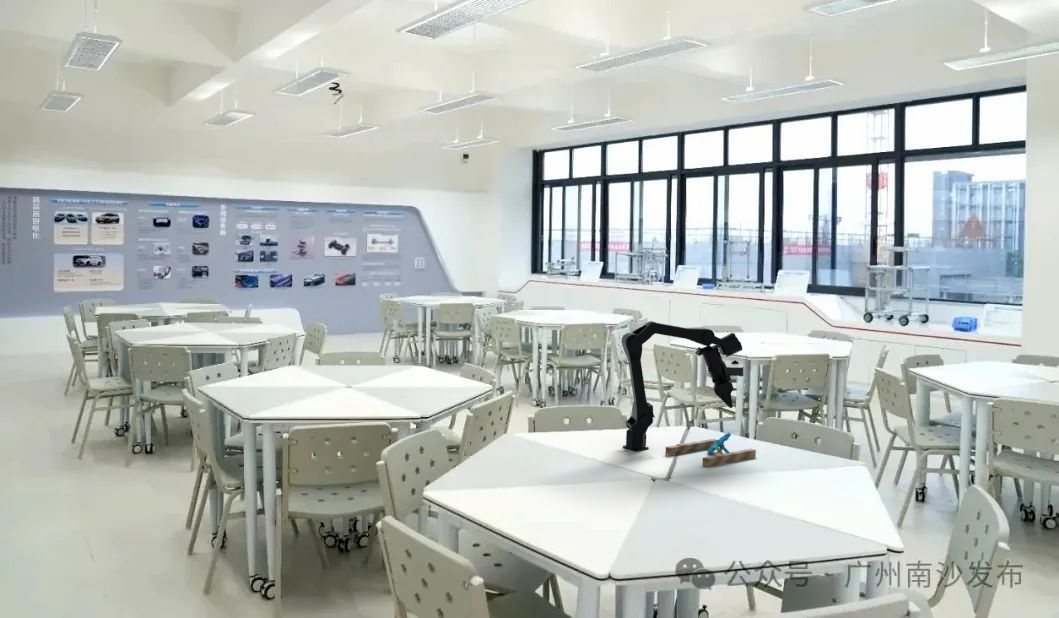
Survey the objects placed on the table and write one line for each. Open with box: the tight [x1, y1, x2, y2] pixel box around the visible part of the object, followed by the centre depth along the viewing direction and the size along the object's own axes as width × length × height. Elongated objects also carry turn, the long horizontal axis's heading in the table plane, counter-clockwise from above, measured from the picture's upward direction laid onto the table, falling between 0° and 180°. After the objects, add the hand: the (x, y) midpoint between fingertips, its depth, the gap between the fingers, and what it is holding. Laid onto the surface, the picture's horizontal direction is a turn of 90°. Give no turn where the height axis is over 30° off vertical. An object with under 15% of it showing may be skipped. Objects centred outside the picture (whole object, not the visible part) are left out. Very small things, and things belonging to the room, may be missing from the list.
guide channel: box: [665, 438, 757, 468], centre depth 266 cm, size 24×18×3 cm
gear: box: [707, 432, 732, 455], centre depth 268 cm, size 11×6×10 cm
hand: (730, 403), depth 275 cm, fingers open, 9 cm apart
